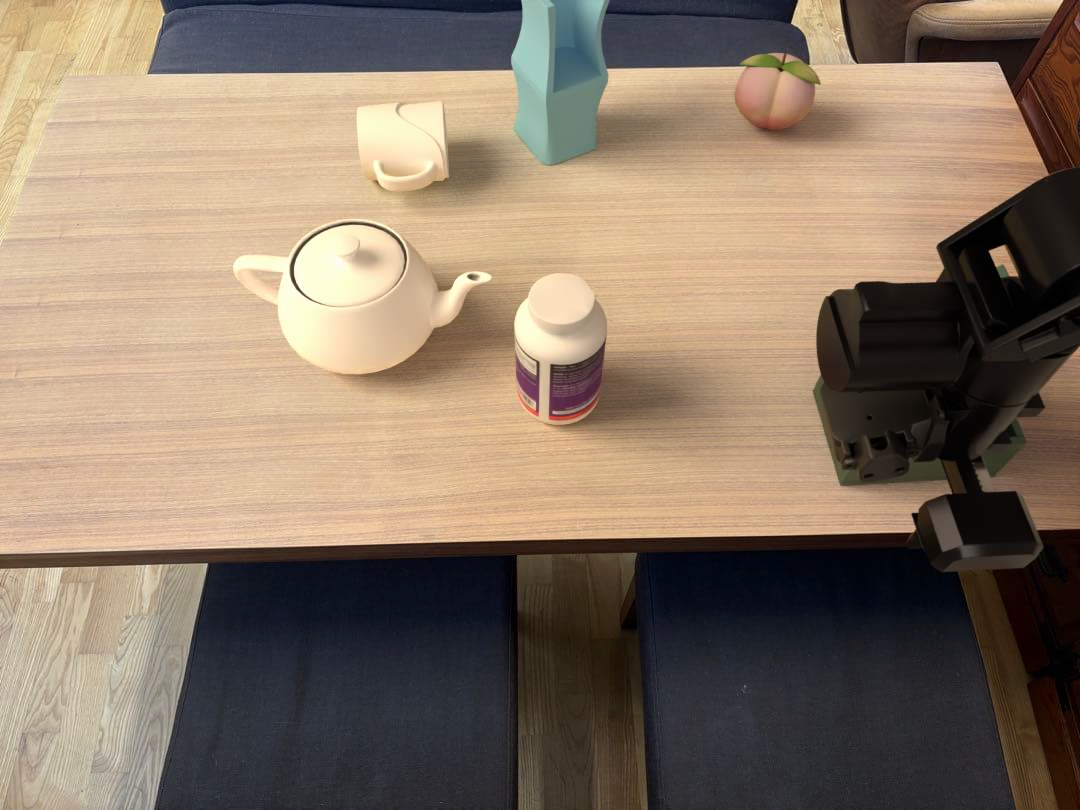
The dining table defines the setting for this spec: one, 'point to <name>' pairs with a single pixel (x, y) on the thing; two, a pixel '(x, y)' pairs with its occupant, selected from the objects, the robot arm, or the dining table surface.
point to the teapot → (356, 296)
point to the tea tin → (932, 468)
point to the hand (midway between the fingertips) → (895, 488)
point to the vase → (559, 77)
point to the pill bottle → (559, 349)
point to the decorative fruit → (775, 90)
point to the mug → (403, 144)
